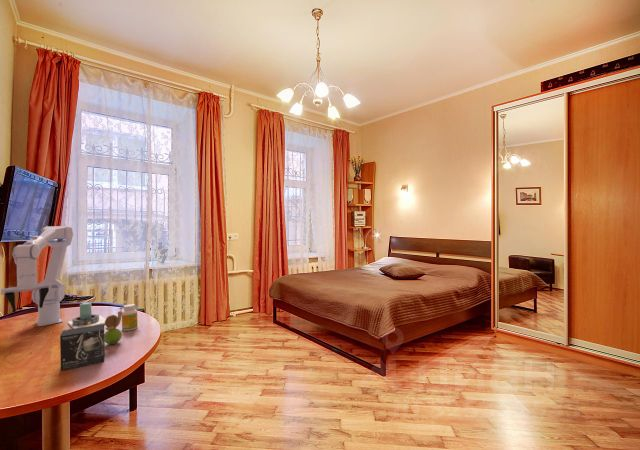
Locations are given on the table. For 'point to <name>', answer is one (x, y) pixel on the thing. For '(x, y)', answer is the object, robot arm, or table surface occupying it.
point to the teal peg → (85, 311)
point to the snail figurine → (113, 328)
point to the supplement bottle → (129, 317)
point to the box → (82, 346)
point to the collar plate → (87, 321)
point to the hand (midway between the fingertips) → (27, 309)
